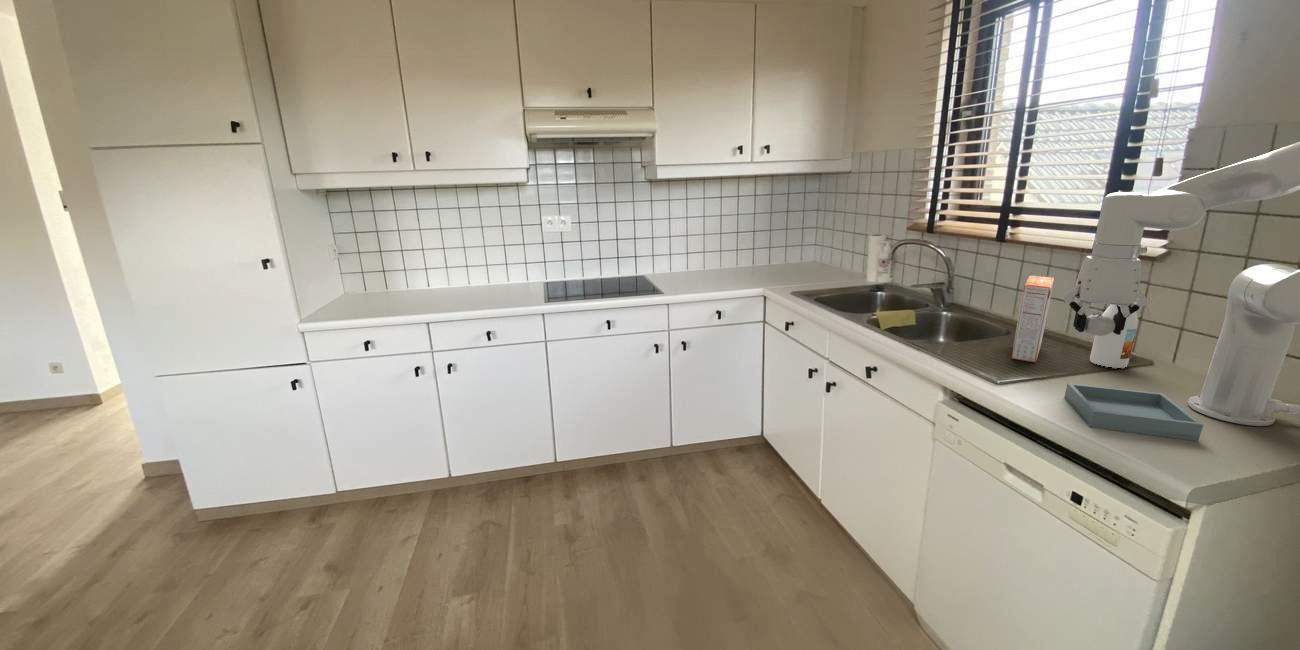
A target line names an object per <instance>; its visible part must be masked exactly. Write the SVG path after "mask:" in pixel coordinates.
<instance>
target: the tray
mask: <svg viewBox="0 0 1300 650" xmlns="http://www.w3.org/2000/svg"><path fill="white" fill-rule="evenodd" d="M1064 399H1065V400H1066V401H1067V403H1069V405H1070V406H1071V407H1072V408H1073V410H1075V412H1076V413H1077V415H1079V417H1080V418H1081V419H1082V420H1083V421H1084V422H1085V423H1086V424H1087V426H1088V427H1089V428H1095V429H1099V430H1100V429H1101V430H1108V431H1114V432H1115V431H1117V432H1123V431H1125V432H1124V433H1131V432H1132V434H1139V433H1141V435H1146V434H1147V435H1148V436H1154V435H1155V436H1156V437H1162V438H1163V437H1164V438H1171V439H1177V440H1178V439H1179V440H1185V441H1186V440H1187V441H1194V442H1198V441H1199V440H1200V436H1201V433H1202V431H1203V428H1204V424H1203V423H1202V422H1201V421H1200V420H1198V419H1197V418H1195V417H1194V416H1193V415H1192V414H1190V413H1189V412H1188V411H1187V410H1185V409H1184V408H1182V407H1181V405H1179V404H1177V403H1176V402H1175V401H1174V400H1173V399H1171V398H1170V397H1168V396H1167V395H1166V394H1164V393H1162V392H1152V391H1144V390H1135V389H1134V390H1133V389H1126V388H1125V389H1124V388H1117V387H1116V388H1114V387H1105V386H1097V385H1088V384H1079V383H1078V384H1077V383H1070V382H1069V383H1067V385H1066V388H1065V392H1064ZM1147 435H1146V436H1147Z"/></svg>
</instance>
